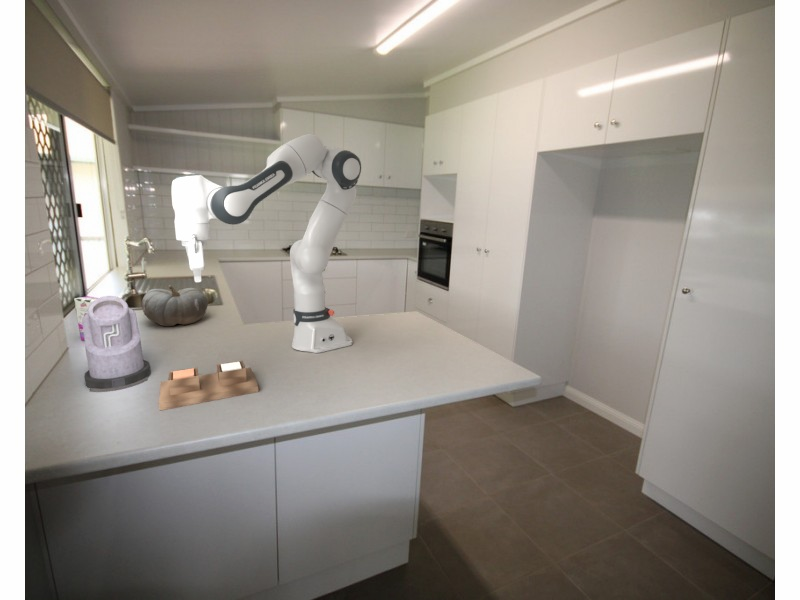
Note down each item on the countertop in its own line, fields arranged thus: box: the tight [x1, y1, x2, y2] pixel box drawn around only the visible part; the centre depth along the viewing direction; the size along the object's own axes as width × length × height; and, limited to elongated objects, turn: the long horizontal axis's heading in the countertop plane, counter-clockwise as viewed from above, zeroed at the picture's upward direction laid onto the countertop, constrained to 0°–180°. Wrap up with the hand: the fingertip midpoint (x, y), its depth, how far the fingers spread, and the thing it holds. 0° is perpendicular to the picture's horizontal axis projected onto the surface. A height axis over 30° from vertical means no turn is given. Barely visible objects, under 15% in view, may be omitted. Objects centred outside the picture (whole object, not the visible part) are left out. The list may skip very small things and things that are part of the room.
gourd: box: [141, 284, 209, 327], centre depth 174 cm, size 25×25×17 cm
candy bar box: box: [73, 295, 99, 342], centre depth 149 cm, size 11×5×16 cm, turn 68°
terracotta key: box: [173, 367, 195, 380], centre depth 109 cm, size 5×5×3 cm
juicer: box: [82, 295, 152, 393], centre depth 121 cm, size 30×16×24 cm, turn 34°
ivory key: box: [220, 361, 242, 372], centre depth 115 cm, size 5×5×3 cm
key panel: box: [158, 360, 259, 411], centre depth 112 cm, size 24×14×6 cm, turn 118°
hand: (198, 281), depth 116 cm, fingers closed
